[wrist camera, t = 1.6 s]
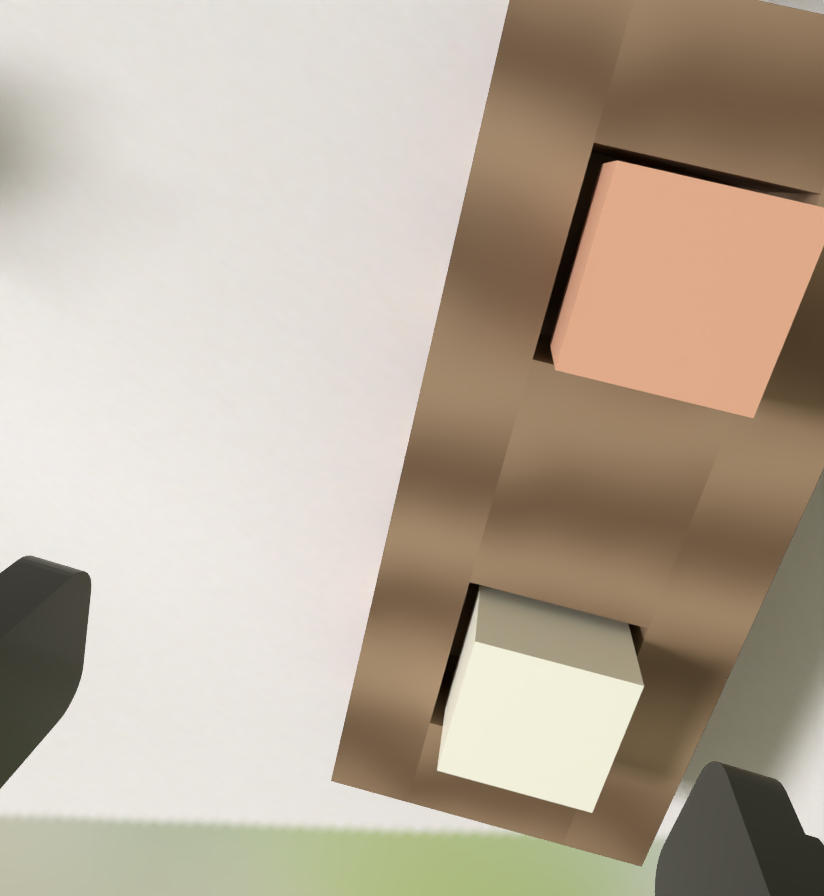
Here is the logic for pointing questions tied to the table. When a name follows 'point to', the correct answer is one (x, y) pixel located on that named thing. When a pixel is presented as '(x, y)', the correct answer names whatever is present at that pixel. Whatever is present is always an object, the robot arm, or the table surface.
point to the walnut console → (595, 408)
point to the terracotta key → (685, 286)
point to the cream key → (539, 699)
